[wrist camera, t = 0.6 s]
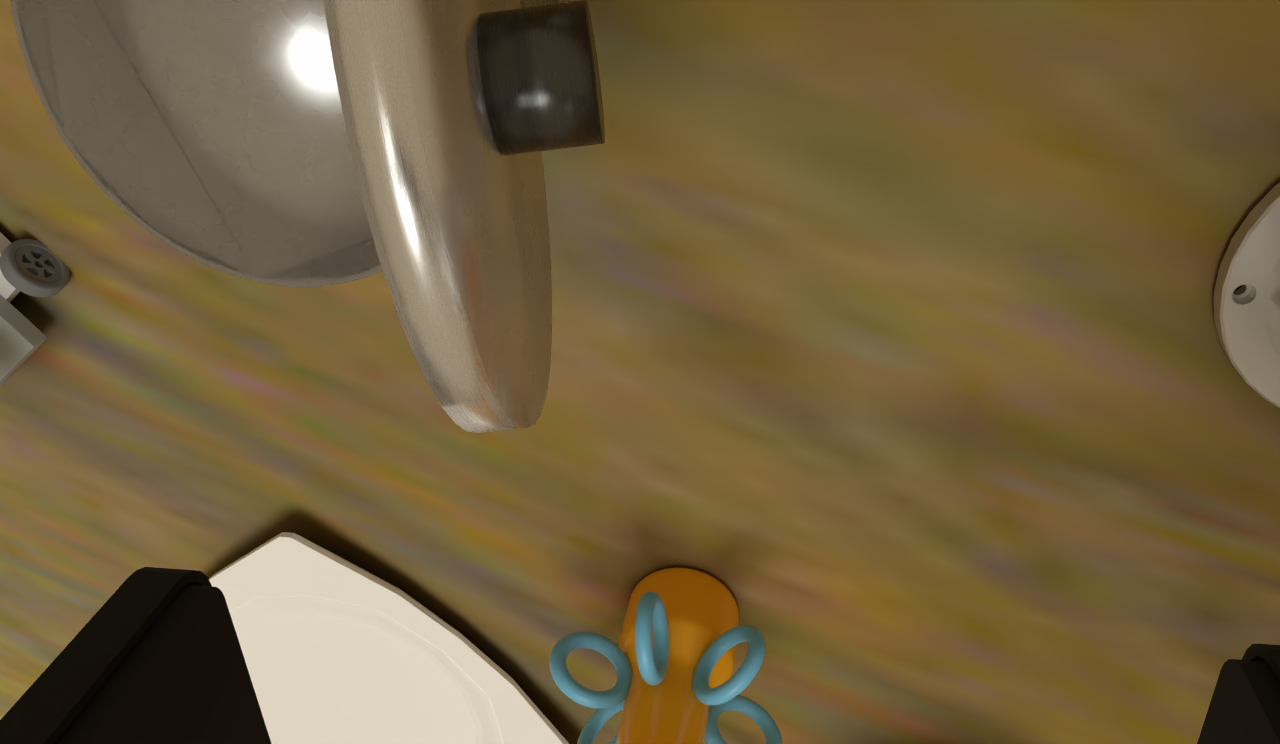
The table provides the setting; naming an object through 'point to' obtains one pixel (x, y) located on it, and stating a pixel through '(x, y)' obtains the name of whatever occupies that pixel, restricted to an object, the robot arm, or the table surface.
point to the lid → (466, 179)
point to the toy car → (35, 271)
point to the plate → (363, 658)
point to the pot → (210, 127)
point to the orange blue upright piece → (671, 664)
